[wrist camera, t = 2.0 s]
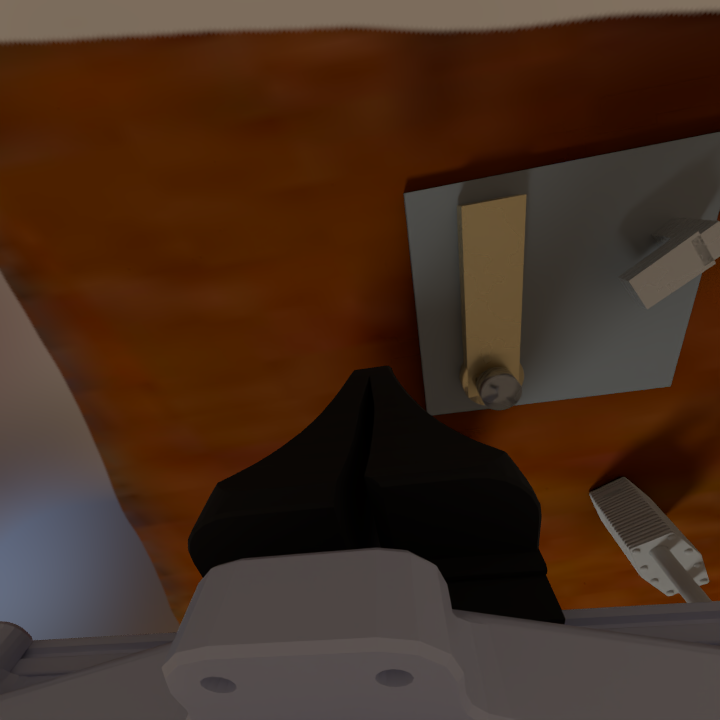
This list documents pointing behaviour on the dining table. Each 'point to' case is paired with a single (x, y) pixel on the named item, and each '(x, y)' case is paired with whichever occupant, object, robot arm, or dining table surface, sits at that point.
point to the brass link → (491, 287)
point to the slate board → (568, 271)
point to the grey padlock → (651, 540)
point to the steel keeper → (673, 259)
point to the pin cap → (498, 388)
